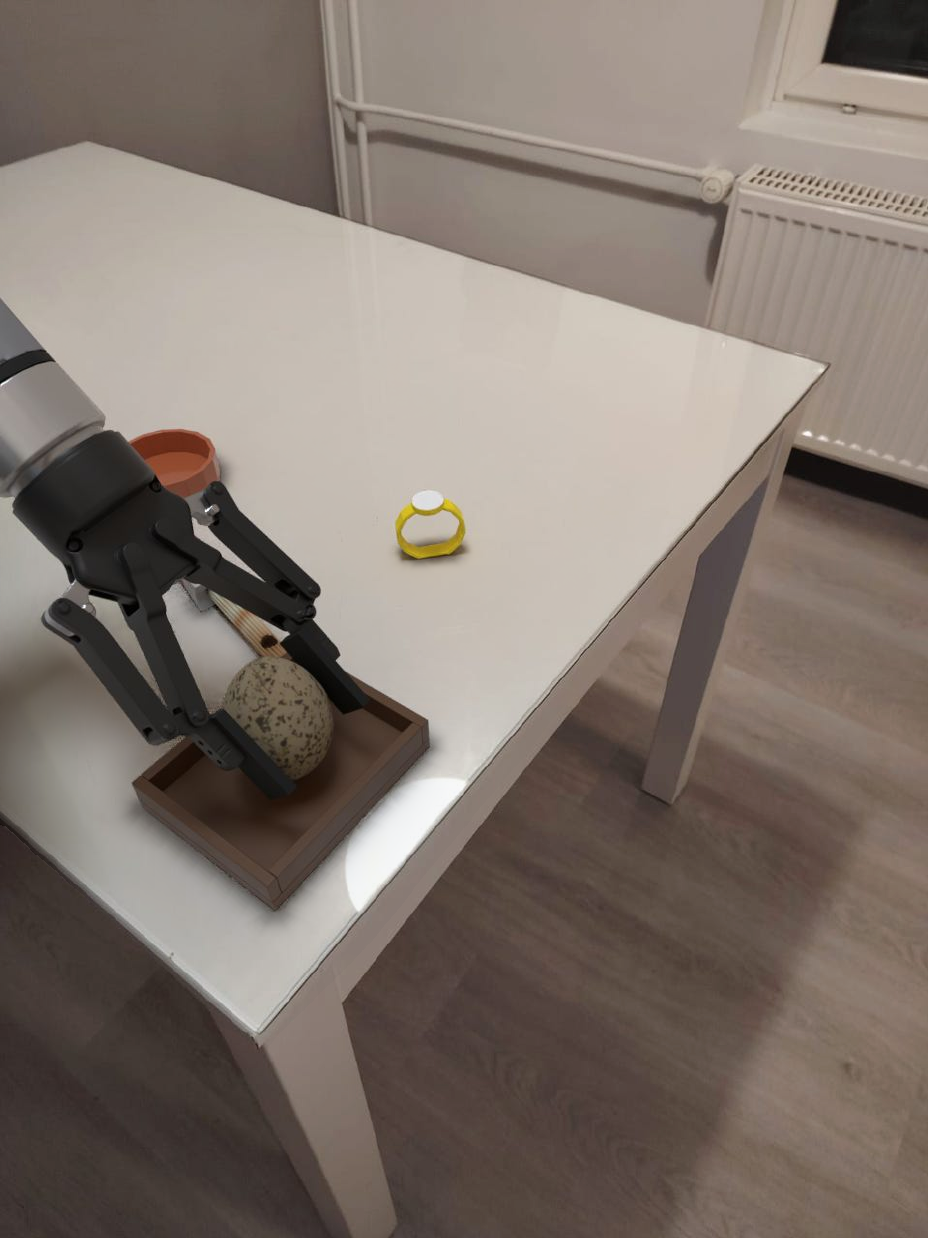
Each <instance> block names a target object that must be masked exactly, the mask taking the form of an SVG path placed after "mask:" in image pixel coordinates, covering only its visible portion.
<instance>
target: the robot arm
mask: <svg viewBox="0 0 928 1238" xmlns="http://www.w3.org/2000/svg"><path fill="white" fill-rule="evenodd" d="M105 425H106V415H105V413H104V412H103V411H102V410H101V409H100V407H98V405H96V403H95V402H94V401H93V400H92V399H91V398H90V397H89V396H88V395H87V393H86V392H85V391H84V390H83V389H82V388H81V387H80V386H79V385H78V383H76V381H74V379H73V378H72V377H71V376H70V375H69V374H68V373H67V372H66V371H65V370H64V368H63V367H62V366H61V365H60V364H59V363H58V362H57V360H55V358H54V357H53V356H52V355H51V354H50V353H49V352H48V351H47V350H46V349H45V347H43V345H42V344H41V343H40V342H39V340H37V338H35V336H34V335H33V334H32V333H31V331H30V330H29V329H28V328H27V327H26V326H25V325H24V323H23V322H22V321H21V320H20V319H19V318H18V316H17V315H16V314H15V313H14V312H13V311H12V310H11V309H10V307H9V306H8V305H7V303H6V302H5V301H4V300H3V299H2V298H1V297H0V498H2V499H7V498H13V499H14V500H13V501H12V504H11V507H12V514H13V515H14V516H15V517H16V518H17V519H18V520H19V522H20V523H21V524H22V525H23V526H24V527H25V528H26V529H27V530H28V531H29V532H30V533H31V534H32V535H33V536H34V537H35V538H36V539H37V540H38V541H39V542H40V543H41V545H42V546H43V547H44V548H45V549H46V550H47V551H48V552H49V553H50V554H51V555H53V557H54V558H55V559H57V560H58V561H59V562H60V563H61V565H63V567H64V570H65V572H66V576H67V579H68V582H69V585H68V587H67V588H66V589H65V590H64V592H63V593H62V594H61V596H60V597H59V598H57V599H56V600H54V601H52V603H51V604H50V605H49V607H47V609H45V611H44V612H43V613H42V615H41V617H40V618H41V620H40V622H41V624H42V626H44V627H45V628H46V629H47V630H48V631H50V632H52V633H53V634H55V635H56V636H58V637H60V638H61V639H62V640H64V641H65V642H67V643H69V644H70V645H72V647H73V648H74V650H76V652H77V653H78V654H79V655H80V657H81V659H83V661H84V662H85V663H86V664H87V666H88V667H89V669H90V670H91V671H92V673H93V674H94V676H95V677H97V679H98V680H99V682H100V683H101V684H102V685H103V687H104V688H105V690H106V691H107V692H108V693H109V695H110V696H111V697H112V699H113V700H114V701H115V702H116V703H117V705H118V707H119V708H120V709H121V710H122V712H123V713H124V714H125V715H126V717H127V719H129V721H130V722H131V723H132V725H133V726H134V727H135V728H136V730H137V731H138V732H139V734H140V735H141V736H142V738H143V739H144V740H145V742H147V744H149V745H151V746H153V747H157V746H160V745H162V744H165V743H167V742H170V741H172V740H174V739H176V738H179V737H188V738H190V739H191V740H192V741H193V742H194V743H195V744H196V745H197V746H198V747H199V748H200V749H201V750H202V751H203V752H204V753H205V754H206V755H207V756H208V757H209V758H210V759H211V760H212V761H213V762H214V763H215V764H216V765H217V766H218V768H220V769H223V770H225V771H229V770H233V769H236V768H237V767H239V768H240V769H241V770H242V771H243V772H244V774H245V775H246V776H247V777H248V778H249V779H250V780H251V781H252V782H253V783H254V784H255V785H256V786H257V787H258V788H259V789H260V790H261V791H262V792H263V793H264V794H265V795H266V796H267V798H268V799H269V800H271V799H276V798H281V797H285V796H290V794H291V793H292V792H293V791H294V790H295V788H296V787H297V786H296V785H295V784H294V782H293V781H292V780H291V779H290V778H289V777H288V776H287V775H286V774H285V773H284V772H283V771H282V770H281V769H280V768H279V767H278V766H277V764H276V763H275V762H274V761H273V760H272V759H271V758H270V757H269V756H268V755H267V754H266V753H265V752H264V751H263V750H262V749H261V747H260V746H259V745H258V744H257V743H256V742H255V741H254V740H253V739H252V738H251V737H250V736H249V735H248V734H247V733H246V732H245V731H244V729H243V728H242V727H241V726H240V725H239V724H238V723H237V722H236V721H235V720H234V719H233V718H232V717H231V716H230V715H229V714H228V712H227V711H226V710H225V709H221V710H219V711H217V710H216V711H217V712H216V711H215V712H212V713H210V711H209V709H208V707H207V704H206V702H205V700H204V697H203V696H202V693H201V691H200V689H199V686H198V684H197V681H196V679H195V677H194V674H193V673H192V671H191V668H190V666H189V663H188V661H187V658H186V656H185V653H184V652H183V649H182V648H181V645H180V642H179V641H178V638H177V636H176V634H175V631H174V630H173V627H172V624H171V622H170V620H169V618H168V615H167V612H168V608H167V604H166V602H165V600H164V597H163V596H164V595H165V594H166V593H167V592H169V591H170V590H171V588H172V587H173V586H174V585H177V584H178V583H179V582H181V581H180V580H181V579H185V580H186V581H188V582H190V583H193V584H200V585H202V586H204V587H206V588H208V589H209V590H211V591H213V592H215V593H216V594H218V595H220V596H222V597H224V598H225V599H227V600H229V601H231V602H232V603H234V604H236V605H238V606H240V607H241V608H243V609H245V610H247V611H248V612H250V613H252V614H254V615H256V616H257V617H259V618H260V619H261V620H262V621H263V622H266V623H267V624H270V625H271V626H273V627H275V628H277V629H279V630H280V631H282V632H284V633H285V632H286V633H288V635H286V636H285V637H284V638H283V639H282V640H280V641H281V642H280V643H279V644H280V645H281V646H282V647H283V648H284V649H285V651H286V652H287V653H288V654H289V655H290V656H291V657H292V658H293V659H294V661H295V662H296V663H297V664H298V665H299V666H301V667H303V668H304V669H306V670H307V671H308V672H309V673H310V674H311V675H312V676H313V677H314V678H315V679H316V680H317V681H318V682H319V683H320V685H321V686H322V688H323V689H324V691H325V692H326V694H327V696H328V698H329V699H330V701H331V702H332V703H333V704H334V705H335V706H336V707H337V708H338V709H339V711H340V712H341V713H342V714H343V715H344V714H347V713H350V712H353V711H356V710H359V709H362V708H364V707H365V706H366V705H367V704H368V702H369V701H370V699H369V698H368V697H367V696H366V694H365V693H364V692H363V691H362V690H361V689H360V688H359V686H358V685H357V684H356V683H355V682H354V681H353V680H352V679H351V677H350V676H349V675H348V674H347V673H348V672H347V671H346V670H345V669H344V668H343V667H342V666H341V664H340V663H339V662H338V661H337V660H338V659H339V658H340V657H341V653H340V651H339V648H338V646H337V645H336V644H335V643H334V642H333V640H332V639H330V637H329V636H328V635H327V634H326V632H325V631H323V630H322V629H323V628H321V627H320V625H318V624H317V622H316V621H315V620H314V619H315V618H316V616H317V608H316V606H315V605H314V604H315V602H316V599H318V598H319V597H320V596H321V594H322V593H321V592H322V589H321V586H320V585H319V584H318V582H316V580H314V578H313V577H311V576H310V575H309V574H308V573H307V572H306V571H305V570H304V569H303V568H302V567H300V565H298V564H297V562H295V561H294V560H293V559H292V558H291V557H290V556H289V555H288V554H287V553H286V552H285V551H284V550H283V549H281V547H279V546H278V545H277V544H276V542H274V541H273V540H272V539H271V538H269V537H268V535H267V534H265V532H264V531H262V530H261V529H260V528H259V527H258V526H257V525H256V524H255V523H254V522H253V521H252V520H250V519H249V517H247V516H246V515H245V514H244V513H243V512H242V511H241V510H240V509H239V507H238V505H237V503H236V502H235V500H234V499H233V497H232V495H231V494H230V492H229V490H228V488H227V487H226V485H225V484H224V483H223V482H222V481H213V482H211V483H210V484H209V485H208V486H207V487H206V488H205V489H204V490H202V491H200V492H198V493H195V494H193V495H190V496H188V497H185V498H183V497H181V496H180V495H178V494H175V493H173V492H171V491H169V490H168V489H166V488H165V487H164V486H163V485H162V484H161V483H160V481H159V480H158V478H157V476H156V474H155V472H154V471H153V469H152V468H151V467H150V466H149V465H148V464H147V462H146V461H145V460H144V459H143V458H142V457H141V456H140V455H139V453H138V452H137V451H136V450H135V449H134V448H133V447H132V446H131V445H130V443H129V441H128V440H127V439H126V438H125V437H124V436H123V434H122V433H121V432H120V431H115V430H114V429H107V430H105V429H104V428H105ZM193 519H195V520H196V523H197V524H198V525H199V526H204V527H207V528H208V529H209V531H210V532H211V533H212V534H213V535H214V536H215V537H216V539H217V540H218V541H219V542H221V543H222V545H224V546H225V547H226V548H227V549H228V550H230V552H231V553H233V554H234V555H235V556H236V557H237V558H238V559H239V560H241V562H243V563H244V564H245V565H246V566H247V567H248V568H249V569H250V570H251V571H253V573H255V575H254V574H252V573H250V572H248V571H247V570H245V569H243V568H242V567H240V566H238V565H236V564H235V563H233V562H231V561H230V560H228V559H226V558H225V557H224V556H223V555H222V552H221V551H219V549H217V548H215V547H214V546H211V545H210V544H208V543H206V542H205V541H203V540H202V539H200V538H199V537H198V538H199V539H198V538H196V537H197V536H196V535H195V528H194V523H193ZM195 536H196V537H195ZM201 540H202V541H201ZM256 575H257V576H258V577H257V576H256ZM89 596H91V597H94V598H99V599H103V600H107V601H111V602H115V603H117V605H118V607H119V609H120V612H121V614H122V616H123V619H124V621H125V623H126V625H127V627H128V629H130V631H132V632H133V633H134V635H135V638H136V641H137V642H138V645H139V647H140V649H141V651H142V655H143V656H144V658H145V660H146V661H145V662H146V663H147V666H148V668H149V670H150V672H151V674H152V676H153V679H154V682H155V683H156V686H157V688H158V690H159V692H160V695H161V697H162V699H163V701H162V700H161V698H160V697H159V696H158V694H157V693H156V692H155V690H154V689H153V687H152V686H151V684H150V683H148V681H147V680H146V679H145V677H144V676H143V674H142V673H141V672H140V671H139V669H138V668H137V666H136V665H135V663H133V661H132V660H131V658H130V657H129V656H128V655H127V653H126V652H125V651H124V649H123V648H122V647H121V645H120V644H119V643H118V641H117V640H116V639H115V637H114V636H113V634H111V632H110V631H109V630H108V628H107V627H106V626H105V625H104V624H103V623H102V622H101V621H100V620H99V619H98V618H97V609H96V607H95V606H94V604H93V603H92V601H90V597H89ZM345 671H346V672H347V673H346V672H345Z"/></svg>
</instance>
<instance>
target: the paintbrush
mask: <svg viewBox="0 0 928 1238" xmlns="http://www.w3.org/2000/svg"><path fill="white" fill-rule="evenodd" d="M195 537H196V538H198V539H200V538H199V537H198V536H197V535H195ZM200 540H201V541H203V540H202V539H200ZM179 582H181V584H182V585H183V587H184V589H185V590H186V591H187V593H188V594H189V596H190V597H191V599H192V600H193V602H194V603H195V606H196V607H197V608H198V609H199V611H200V612H203V611H205V610H208V609H209V608H211V607H213V606H215V605H216V606H217V607H218V609H220V611H221V612H222V613H223V614H224V615H225V617H226V618H227V619H229V621H230V622H231V623H232V624H233V626H234V627H236V628H237V629H238V632H240V634H242V635H243V637H244V638H245V639H246V640H247V641H248V642H249V643H250V645H251V646H252V647H253V648H254V649H255V650H256V651H257V653H259V655H260V656H261V657H268V656H273V657H282V656H283V655H284V654H285V653H286V651H285V649H284V648H283V647H282V646H281V645H280V644H279V643H280V642H281V641H282V640H280V639H279V638H278V637H277V635H275V633H274V632H273V631H272V630H271V629H270V628H269V627H268V626H267V625H266V623H265V622H264V620H263V619H261V618H259V617H257V616H256V615H254V614H252V613H250V612H248V611H247V610H245V609H243V608H241V607H240V606H238V605H236V604H234V603H232V602H231V601H229V600H227V599H225V598H224V597H222V596H220V595H218V594H216V593H215V592H213V591H211V590H209V589H208V588H206V587H204V586H202V585H200V584H193V583H190V582H188V581H186V580H185V579H181V580H180V581H179Z"/></svg>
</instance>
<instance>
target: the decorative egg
mask: <svg viewBox="0 0 928 1238" xmlns="http://www.w3.org/2000/svg"><path fill="white" fill-rule="evenodd" d="M220 708H221V709H225V710H226V711H227V712H228V714H229V715H230V716H231V717H232V718H233V719H234V720H235V721H236V722H237V723H238V724H239V725H240V726H241V727H242V728H243V729H244V731H245V732H246V733H247V734H248V735H249V736H250V737H251V738H252V739H253V740H254V741H255V742H256V743H257V744H258V745H259V746H260V747H261V749H262V750H263V751H264V752H265V753H266V754H267V755H268V756H269V757H270V758H271V759H272V760H273V761H274V762H275V763H276V764H277V766H278V767H279V768H280V769H281V770H282V771H283V772H284V773H285V774H286V775H287V776H288V777H289V778H290V779H291V780H292V781H295V780H297V779H300V778H302V777H304V776H306V775H307V774H309V773H310V772H311V771H313V770H314V769H315V768H316V767H317V766H318V765H319V764H320V762H321V761H322V760H323V758H324V757H325V755H326V753H327V751H328V748H329V746H330V743H331V740H332V736H333V725H334V720H333V712H332V708H331V704H330V701H329V699H328V696H327V694H326V692H325V691H324V689H323V688H322V686H321V685H320V683H319V682H318V681H317V680H316V679H315V678H314V677H313V676H312V675H311V674H310V673H309V672H308V671H307V670H306V669H304V668H303V667H301V666H299V665H298V664H296V663H294V662H292V661H289V660H287V659H284V658H280V657H273V656H268V657H262V656H261V657H257V658H256V659H253V660H252V661H249V662H248V663H246V664H244V666H243V667H241V669H240V670H239V671H238V672H237V673H236V674H235V675H234V677H233V678H232V680H231V681H230V683H229V685H228V686H227V689H226V691H225V693H224V697H223V700H222V703H221V706H220Z"/></svg>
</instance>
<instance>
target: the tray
mask: <svg viewBox="0 0 928 1238" xmlns="http://www.w3.org/2000/svg"><path fill="white" fill-rule="evenodd" d="M280 658H284V659H287V660H289V661H292V662H294V663H296V662H295V661H294V659H293V658H292V657H291V656H290V655H289V654H288V653H287V652H286V653H285V654H284V655H283V656H282V657H280ZM296 664H297V663H296ZM344 671H345V672H346V673H347V674H348V675H349V676H350V677H351V679H352V680H353V681H354V682H355V683H356V684H357V685H358V686H359V688H360V689H361V690H362V691H363V692H364V693H365V694H366V696H367V697H368V698H369V699H370V701H369V702H368V704H367V705H366V706H365V707H364V708H362V709H359V710H356V711H353V712H350V713H347V714H344V715H343V714H342V713H341V712H340V711H339V709H338V708H337V707H336V706H335V705H334V704H333V703H332V702H331V701H330V699H329V698H328V699H329V701H330V704H331V708H332V712H333V720H334V725H333V736H332V740H331V743H330V746H329V748H328V751H327V753H326V755H325V757H324V758H323V760H322V761H321V762H320V764H319V765H318V766H317V767H316V768H315V769H314V770H313V771H311V772H310V773H309V774H307V775H306V776H304V777H302V778H300V779H297V780H295V781H293V782H294V784H295V785H296V786H297V787H296V788H295V790H294V791H293V792H292V793H291V794H290V796H285V797H281V798H276V799H271V800H269V799H268V798H267V796H266V795H265V794H264V793H263V792H262V791H261V790H260V789H259V788H258V787H257V786H256V785H255V784H254V783H253V782H252V781H251V780H250V779H249V778H248V777H247V776H246V775H245V774H244V772H243V771H242V770H241V769H240V768H239V767H237V768H236V769H233V770H229V771H225V770H223V769H220V768H218V766H217V765H216V764H215V763H214V762H213V761H212V760H211V759H210V758H209V757H208V756H207V755H206V754H205V753H204V752H203V751H202V750H201V749H200V748H199V747H198V746H197V745H196V744H195V743H194V742H193V741H192V740H191V739H190V738H188V737H186V736H184V738H183V739H181V740H180V741H179V742H178V743H177V744H175V745H173V747H171V748H170V749H169V750H168V751H167V752H165V754H164V755H162V756H160V758H158V760H156V761H154V762H153V763H152V764H151V765H150V766H149V767H148V768H147V769H146V770H144V771H143V772H141V774H140V775H138V776H137V777H136V778H135V779H133V781H131V786H132V788H133V789H134V792H135V794H136V796H137V798H138V801H139V802H140V804H141V805H140V806H142V809H144V810H145V811H146V812H148V813H149V814H150V815H151V816H153V817H154V818H155V819H156V820H158V821H159V822H160V823H162V824H163V825H164V826H165V827H167V828H168V829H169V830H171V831H172V832H173V833H174V834H176V835H177V836H178V837H179V838H180V839H182V840H183V841H185V842H186V843H187V844H189V846H191V847H193V849H195V850H196V851H198V852H199V853H200V854H201V855H203V856H204V857H205V858H206V859H208V860H209V861H211V863H213V864H214V865H216V867H218V868H220V869H221V870H222V871H223V872H225V873H226V874H227V875H228V876H230V877H231V878H232V879H234V880H235V881H236V882H237V883H239V884H240V885H241V886H243V887H244V889H246V890H248V891H249V892H250V893H252V895H254V896H256V898H258V899H260V901H262V902H263V903H264V904H266V905H267V906H268V907H270V908H271V909H272V910H273V911H277V910H278V909H279V907H280V906H282V904H283V903H285V901H286V900H287V899H288V898H289V897H290V896H291V895H292V894H293V892H294V891H295V890H296V889H298V887H299V886H300V885H301V884H302V883H303V882H304V881H305V880H306V878H308V877H309V876H310V874H311V873H312V872H313V871H314V870H315V869H316V868H317V867H318V866H319V865H320V864H321V863H322V861H324V860H325V858H326V857H327V856H329V854H330V853H331V852H332V851H333V850H334V849H335V848H336V847H337V845H339V843H341V841H343V839H344V838H345V837H346V836H347V835H348V834H349V833H350V831H352V830H353V829H354V828H355V826H357V824H358V823H359V822H360V821H361V820H362V819H363V818H364V817H365V816H366V815H367V814H368V812H369V811H370V810H371V809H372V808H373V807H374V806H375V805H376V804H377V803H378V802H379V801H380V800H381V799H382V798H383V797H384V795H385V794H386V793H387V792H388V791H389V790H390V789H391V788H392V787H393V786H394V785H395V784H396V783H397V782H398V780H400V779H401V777H403V775H404V774H405V773H406V772H407V771H408V770H409V769H410V768H411V767H412V766H413V764H415V762H416V761H417V760H418V759H419V758H420V757H421V756H422V755H423V754H425V752H426V751H427V750H428V748H429V747H430V746H431V742H430V726H429V724H430V723H429V719H428V718H425V717H424V716H422V715H421V714H419V713H418V712H416V711H414V710H412V709H411V708H408V707H407V706H405V705H404V704H402V703H400V702H399V701H397V700H395V699H393V698H392V697H390V696H388V695H386V694H385V693H383V692H382V691H380V690H378V689H377V688H375V687H373V686H371V685H370V684H368V683H366V682H364V681H363V680H361V679H359V678H358V677H356V676H355V675H352V674H350V673H349V672H348V671H346V670H344ZM219 710H221V707H220V708H218V709H217V710H215V712H217V711H219Z"/></svg>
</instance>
